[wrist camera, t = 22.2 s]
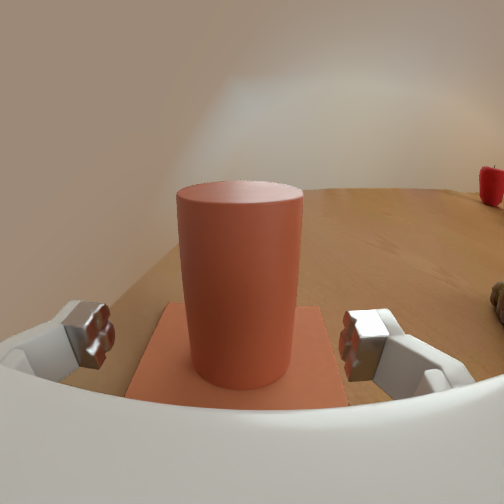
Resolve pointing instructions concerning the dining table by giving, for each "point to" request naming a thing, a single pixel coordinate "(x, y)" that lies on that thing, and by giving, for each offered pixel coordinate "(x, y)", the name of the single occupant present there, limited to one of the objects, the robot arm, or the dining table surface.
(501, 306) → the weathered bone fragment
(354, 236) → the dining table surface
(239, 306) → the terracotta canister
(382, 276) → the dining table surface
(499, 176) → the apple
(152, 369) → the terracotta mat
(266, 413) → the robot arm
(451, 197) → the dining table surface
